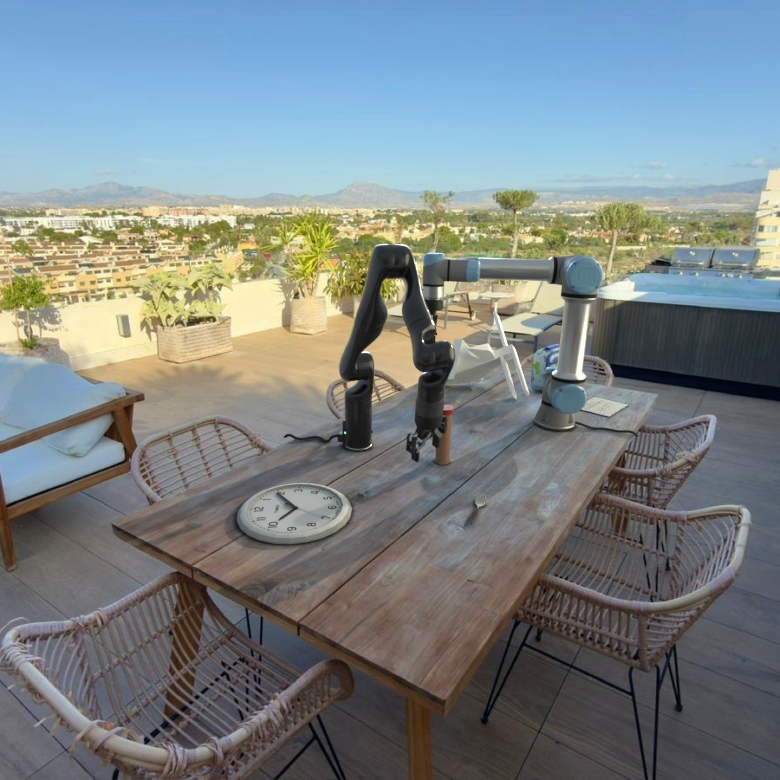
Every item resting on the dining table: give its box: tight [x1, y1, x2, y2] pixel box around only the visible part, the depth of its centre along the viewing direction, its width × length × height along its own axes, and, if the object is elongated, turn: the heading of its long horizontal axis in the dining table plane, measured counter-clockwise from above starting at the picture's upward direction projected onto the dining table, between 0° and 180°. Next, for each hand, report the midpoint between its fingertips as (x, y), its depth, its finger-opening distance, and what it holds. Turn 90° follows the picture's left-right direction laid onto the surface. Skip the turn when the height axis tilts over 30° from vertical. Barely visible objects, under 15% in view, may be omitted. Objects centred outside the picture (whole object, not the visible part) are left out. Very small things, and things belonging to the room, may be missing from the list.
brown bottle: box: [434, 414, 453, 466], centre depth 168 cm, size 5×5×18 cm
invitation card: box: [580, 396, 629, 418], centre depth 226 cm, size 21×1×15 cm
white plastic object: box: [445, 310, 531, 400], centre depth 245 cm, size 37×45×31 cm
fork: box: [469, 491, 487, 526], centre depth 140 cm, size 3×16×2 cm, turn 160°
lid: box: [443, 403, 455, 415], centre depth 165 cm, size 6×6×2 cm
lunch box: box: [530, 343, 560, 392], centre depth 248 cm, size 26×11×21 cm, turn 134°
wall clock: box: [236, 482, 353, 545], centre depth 139 cm, size 30×2×30 cm
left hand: (425, 453), depth 149 cm, fingers open, 8 cm apart
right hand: (430, 357), depth 190 cm, fingers open, 13 cm apart
